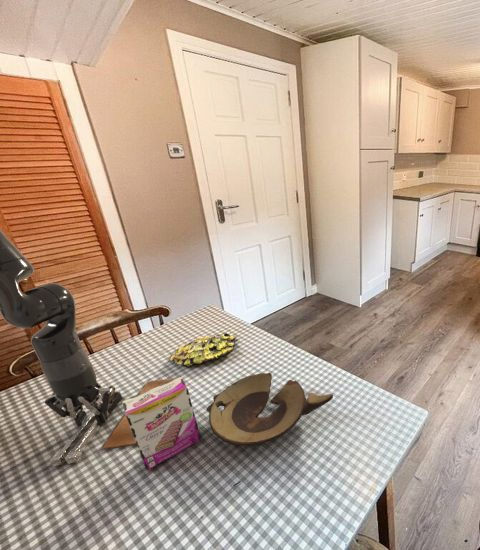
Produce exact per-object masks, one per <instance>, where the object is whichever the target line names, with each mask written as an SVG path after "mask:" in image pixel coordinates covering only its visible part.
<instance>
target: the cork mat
mask: <svg viewBox="0 0 480 550" xmlns="http://www.w3.org/2000/svg"><path fill="white" fill-rule="evenodd" d="M177 378H178V377H177ZM177 378H169V379H159V380H152V381H147V382H146V383H145V385H144V386H143V387H142V389H141V391H140V392H139V394H142V393H144V392H146V391H149V390H151V389H153V388H156V387H158V386H161V385H163V384H165V383H168V382H170V381H172V380H175V379H177ZM135 445H137V444H136V441H135V439H134V436H133V433H132V430H131V428H130V425H129V422H128V420H127V417H126V414H125V413H124V415H123V417H122V418H121V420H120V421H119V423H118V424H117V426H116V427H115V429H114V430H113V432H112V433H111V435H110V436H109V437H108V439H107V440H106V442H105V443H104V445H103V447H102V450H107V449H108V450H109V449H115V448H121V447H129V446H135Z"/></svg>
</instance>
